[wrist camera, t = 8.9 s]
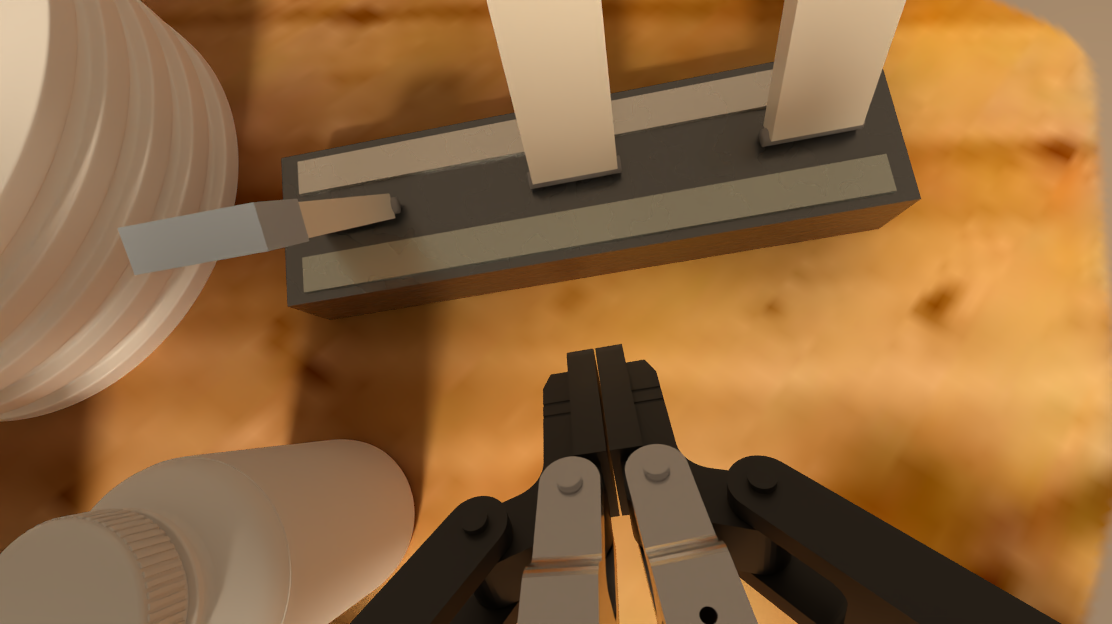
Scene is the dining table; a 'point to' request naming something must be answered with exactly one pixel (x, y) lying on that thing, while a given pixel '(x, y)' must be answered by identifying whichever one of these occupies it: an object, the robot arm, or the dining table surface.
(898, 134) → the switch strip
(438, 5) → the dining table surface
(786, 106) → the lever sage
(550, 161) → the lever amber
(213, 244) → the lever slate
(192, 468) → the pill bottle
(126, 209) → the plate stack
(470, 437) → the dining table surface
